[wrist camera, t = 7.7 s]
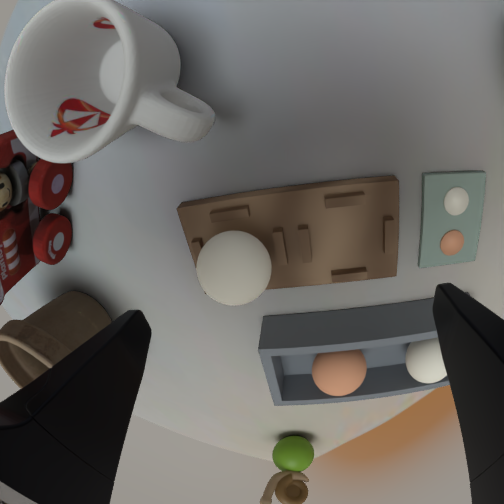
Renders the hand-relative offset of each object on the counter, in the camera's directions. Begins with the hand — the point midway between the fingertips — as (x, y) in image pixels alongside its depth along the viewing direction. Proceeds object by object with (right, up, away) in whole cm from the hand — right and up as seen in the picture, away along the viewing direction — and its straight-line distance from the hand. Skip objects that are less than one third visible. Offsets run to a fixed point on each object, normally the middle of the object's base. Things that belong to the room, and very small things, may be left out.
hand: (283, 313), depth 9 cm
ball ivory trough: (+14, -6, +15) cm, 21 cm away
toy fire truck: (-18, +7, +13) cm, 24 cm away
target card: (+13, +4, +10) cm, 17 cm away
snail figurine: (+4, -23, +28) cm, 36 cm away
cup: (-7, +12, +8) cm, 16 cm away
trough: (+9, -6, +16) cm, 20 cm away
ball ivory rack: (-2, +2, +12) cm, 12 cm away
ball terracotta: (+6, -7, +17) cm, 19 cm away
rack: (+2, +3, +12) cm, 13 cm away
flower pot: (-18, -4, +20) cm, 27 cm away
